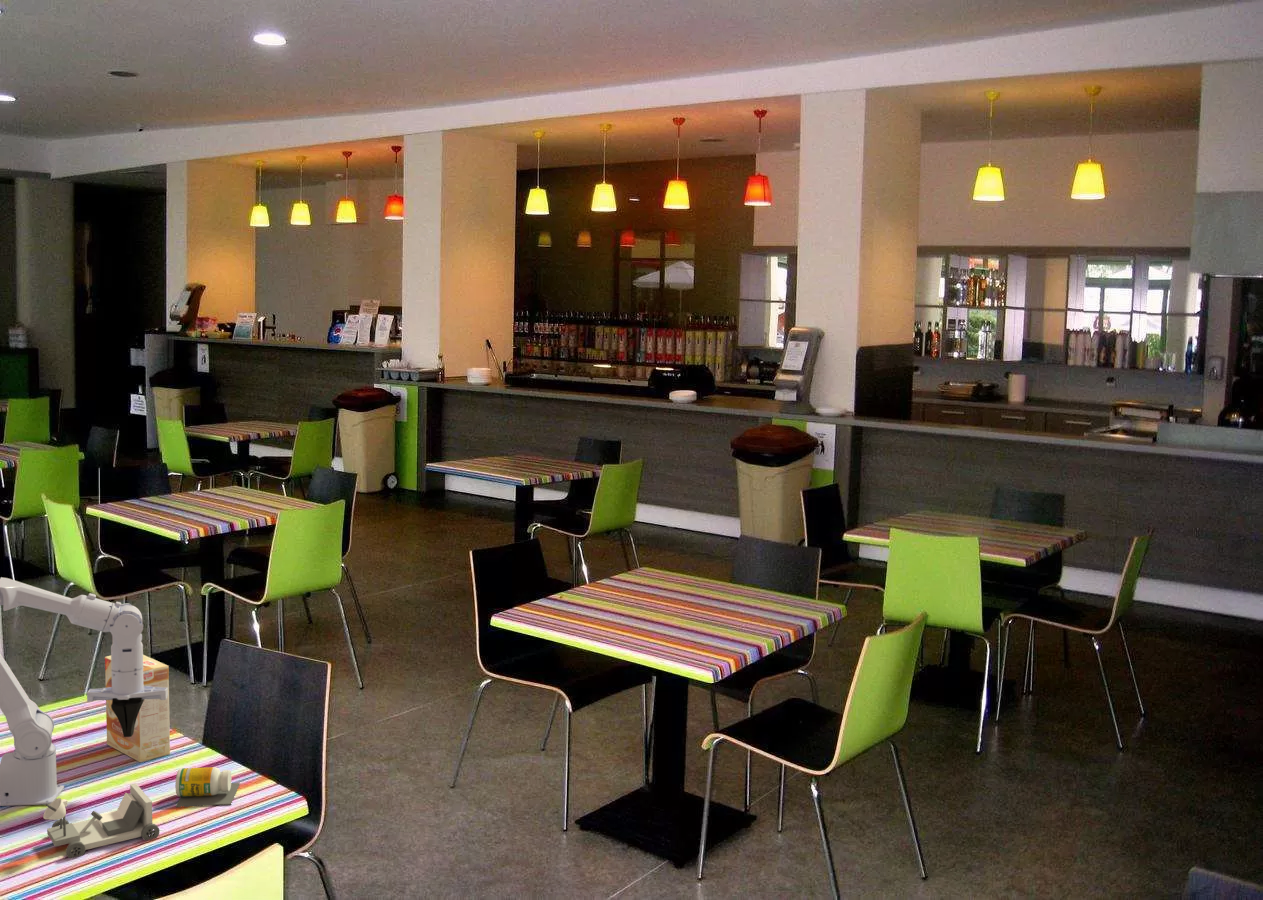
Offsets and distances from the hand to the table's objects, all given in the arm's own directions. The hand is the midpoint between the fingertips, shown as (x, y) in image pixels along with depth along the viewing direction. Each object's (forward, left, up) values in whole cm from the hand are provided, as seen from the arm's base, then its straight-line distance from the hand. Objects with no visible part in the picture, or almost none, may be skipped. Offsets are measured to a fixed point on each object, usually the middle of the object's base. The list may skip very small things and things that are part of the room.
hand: (128, 735), depth 232 cm
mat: (+16, -6, -10) cm, 20 cm away
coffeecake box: (-3, +20, -11) cm, 23 cm away
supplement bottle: (+10, -6, -7) cm, 14 cm away
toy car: (0, -23, -11) cm, 26 cm away
